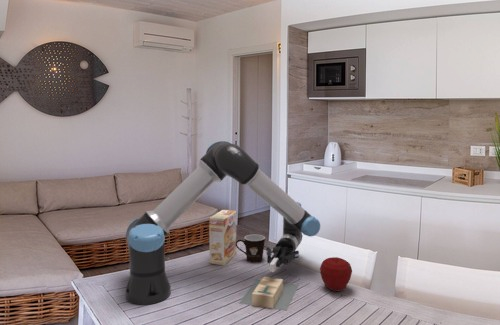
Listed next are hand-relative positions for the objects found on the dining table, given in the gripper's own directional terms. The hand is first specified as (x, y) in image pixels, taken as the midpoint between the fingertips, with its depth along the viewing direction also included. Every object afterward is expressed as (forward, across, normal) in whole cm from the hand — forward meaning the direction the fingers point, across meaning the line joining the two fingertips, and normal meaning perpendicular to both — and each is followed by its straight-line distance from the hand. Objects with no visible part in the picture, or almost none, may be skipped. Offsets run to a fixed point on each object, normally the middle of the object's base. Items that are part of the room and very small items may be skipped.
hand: (271, 268), depth 141 cm
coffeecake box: (-26, +28, -9) cm, 39 cm away
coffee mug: (-28, +16, -9) cm, 33 cm away
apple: (-10, -21, -9) cm, 25 cm away
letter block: (-2, 0, -7) cm, 7 cm away
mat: (+1, 0, -9) cm, 9 cm away
